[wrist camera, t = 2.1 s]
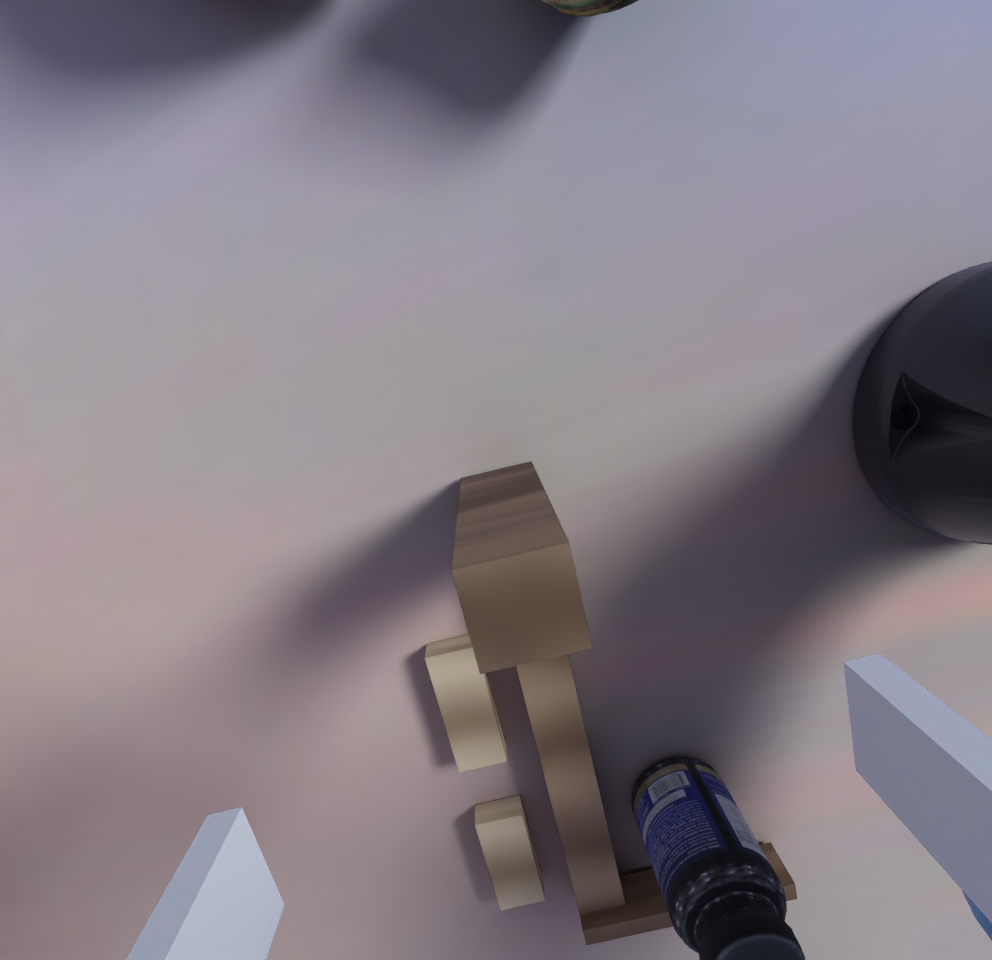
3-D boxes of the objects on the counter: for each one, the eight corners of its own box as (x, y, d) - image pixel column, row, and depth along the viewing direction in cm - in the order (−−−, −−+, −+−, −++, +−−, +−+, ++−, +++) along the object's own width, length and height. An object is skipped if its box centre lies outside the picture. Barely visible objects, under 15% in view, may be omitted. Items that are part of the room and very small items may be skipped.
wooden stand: (460, 478, 31) (451, 570, 19) (708, 418, 31) (868, 471, 18) (571, 901, 39) (617, 1172, 26) (772, 856, 38) (918, 1108, 26)
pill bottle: (625, 830, 38) (685, 1023, 27) (634, 752, 36) (700, 923, 26) (716, 830, 38) (810, 1020, 27) (728, 752, 37) (832, 921, 26)
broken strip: (426, 643, 34) (424, 658, 32) (475, 632, 34) (475, 646, 32) (499, 887, 39) (500, 910, 37) (542, 878, 39) (545, 900, 37)
